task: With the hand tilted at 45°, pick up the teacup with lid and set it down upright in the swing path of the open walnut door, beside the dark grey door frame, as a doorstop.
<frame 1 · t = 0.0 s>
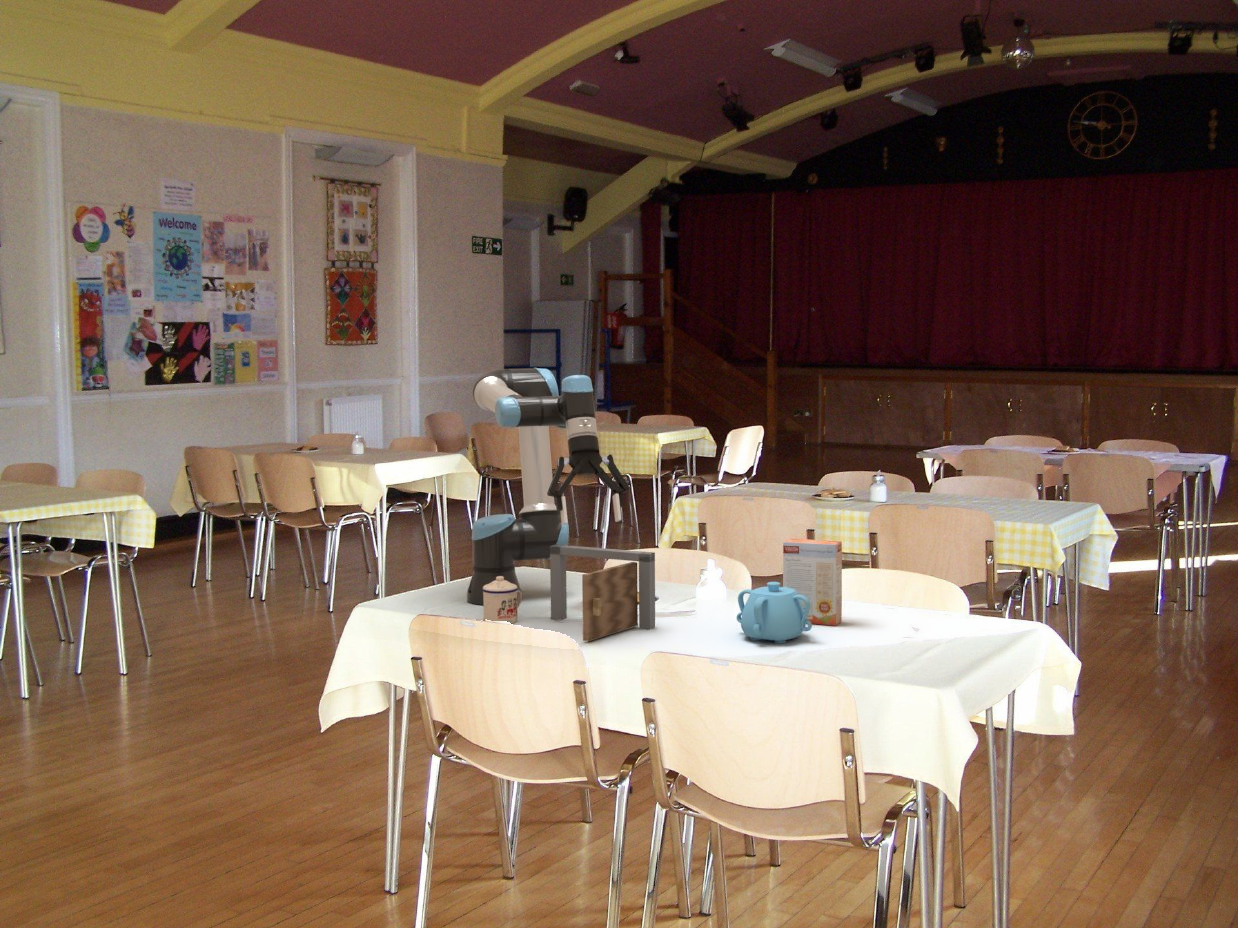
hand: (591, 522, 311), 28 cm above the table, tool tilted 20°, fingers open, 13 cm apart
door frame: (601, 622, 326), on the table
decorative pot: (773, 638, 309), on the table
door: (613, 601, 312), point 9 cm above the table, hinge at 80.0°
cracker box: (812, 622, 326), on the table
teacup with lid: (504, 620, 330), on the table
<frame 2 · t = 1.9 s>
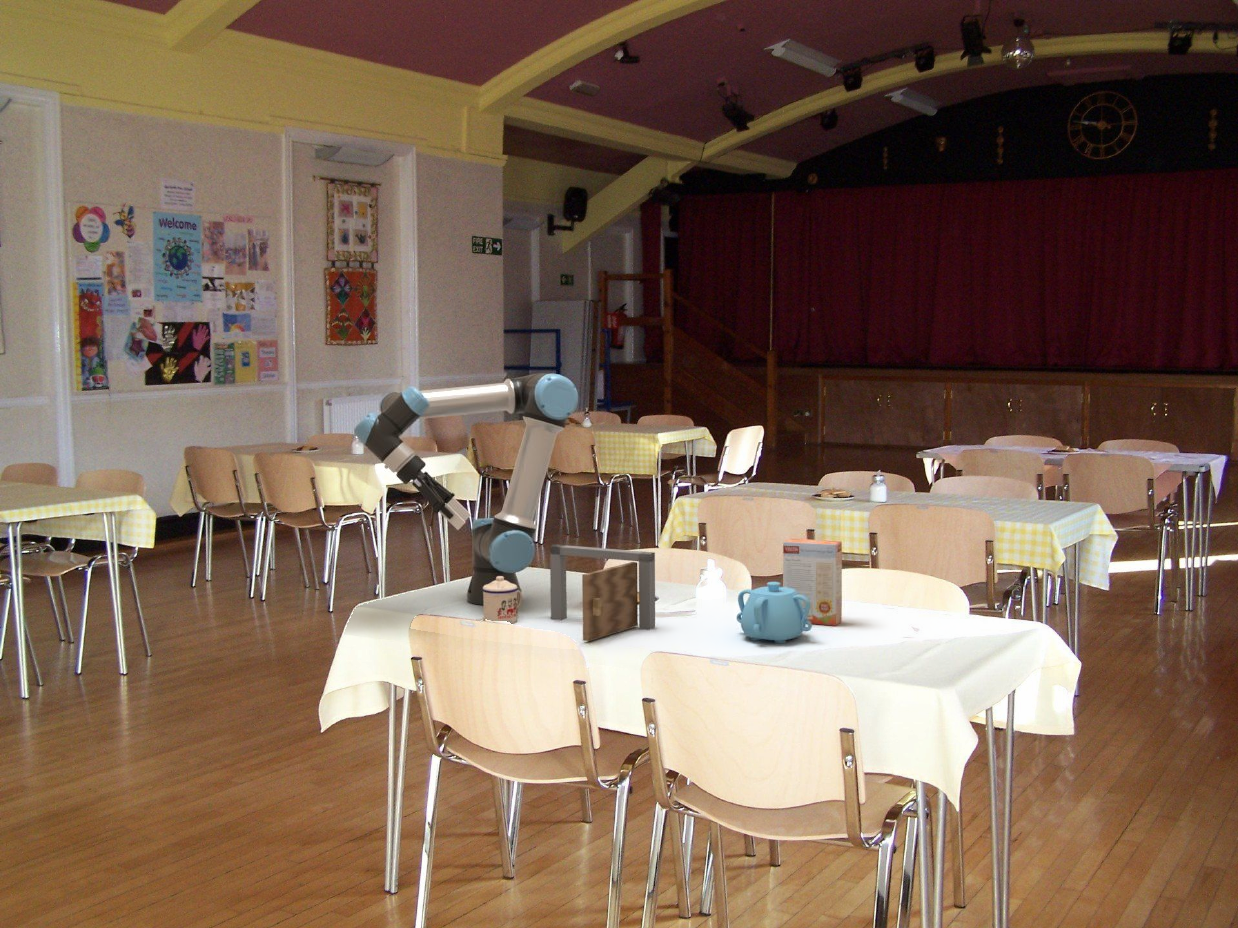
hand: (464, 522, 328), 25 cm above the table, tool tilted 45°, fingers open, 13 cm apart
nothing on the table moved.
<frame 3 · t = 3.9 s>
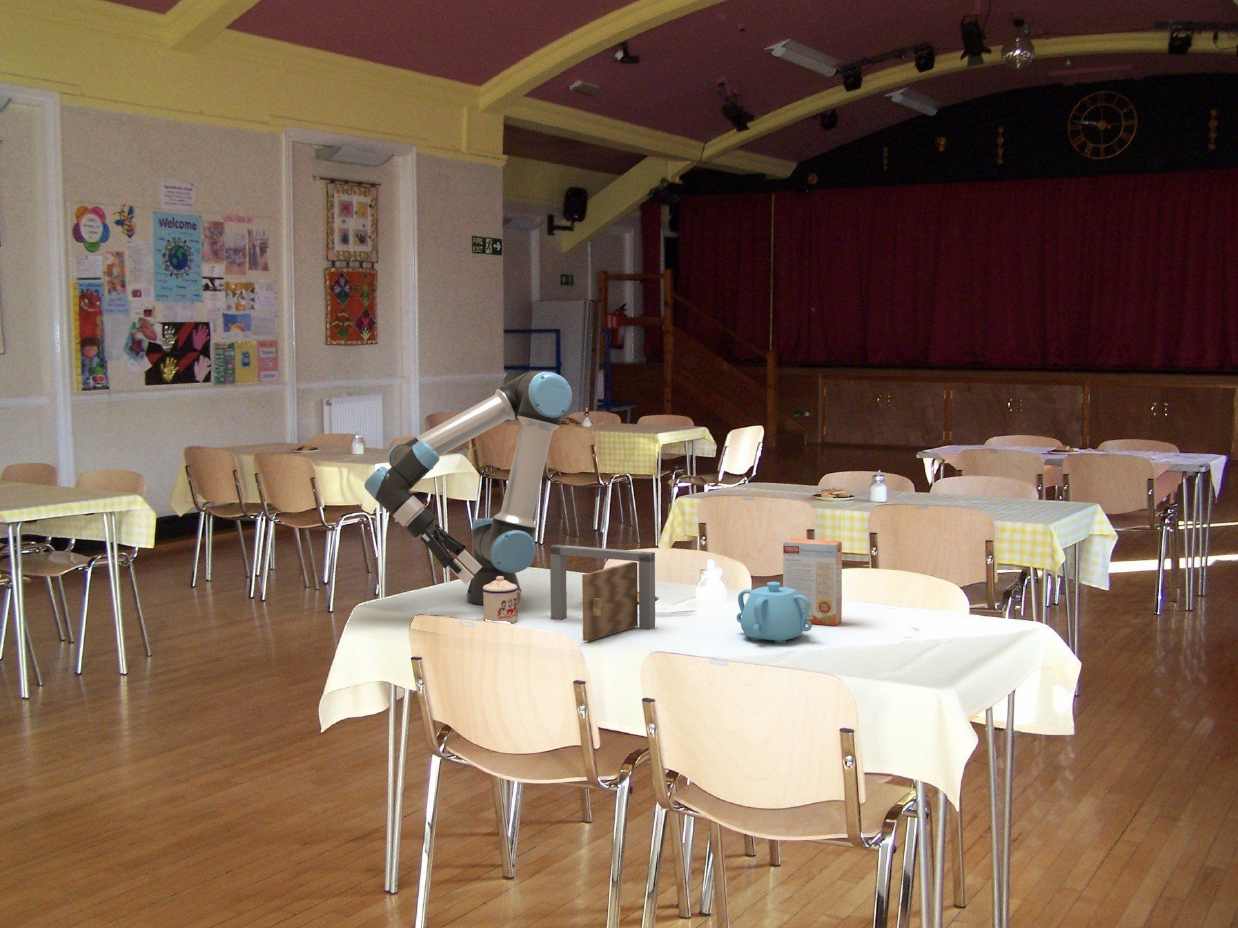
hand: (474, 575, 329), 12 cm above the table, tool tilted 45°, fingers open, 13 cm apart
nothing on the table moved.
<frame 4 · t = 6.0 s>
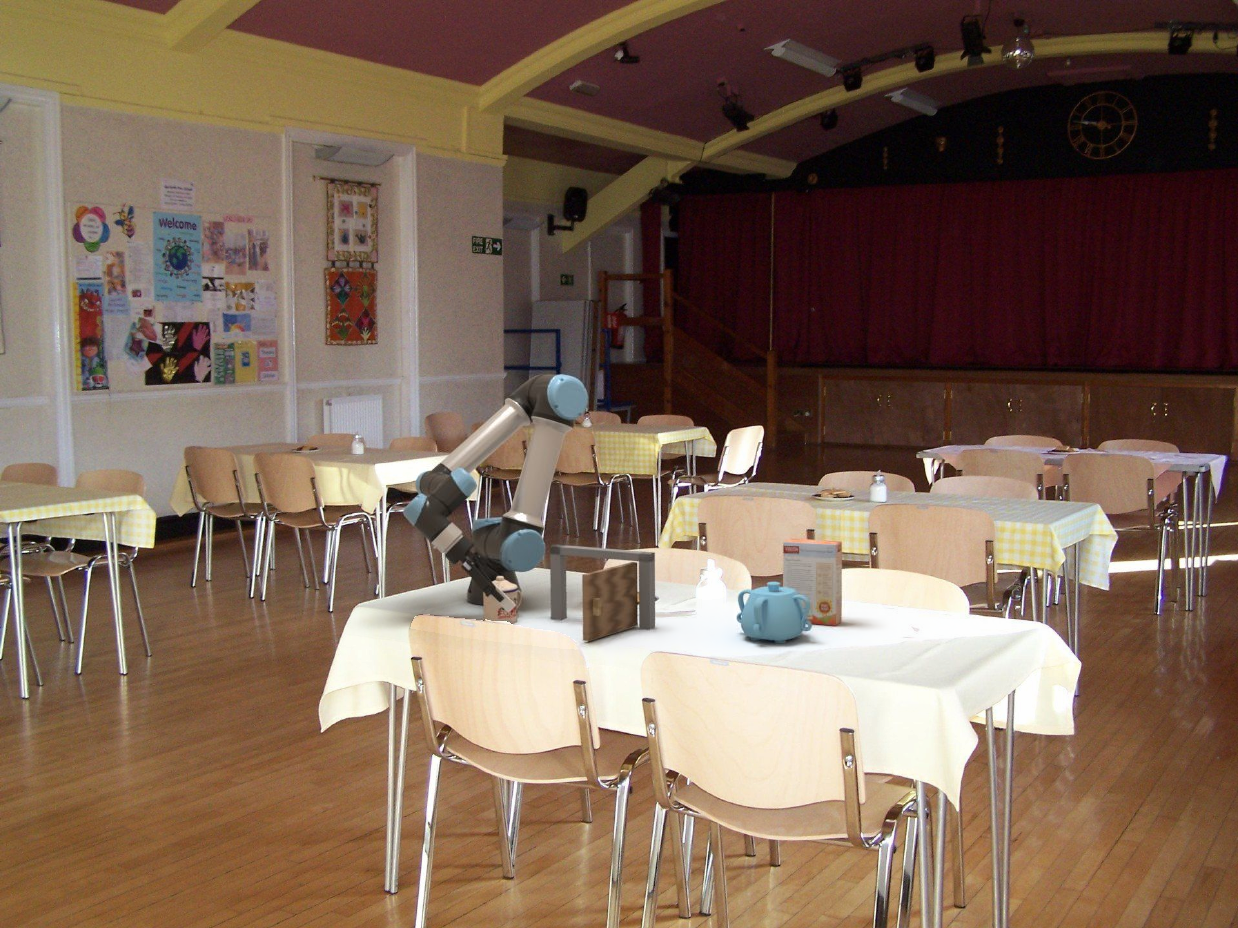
hand: (515, 604, 329), 4 cm above the table, tool tilted 45°, fingers closed on teacup with lid, 11 cm apart
teacup with lid: (504, 620, 330), on the table, touching gripper
everything else where it was.
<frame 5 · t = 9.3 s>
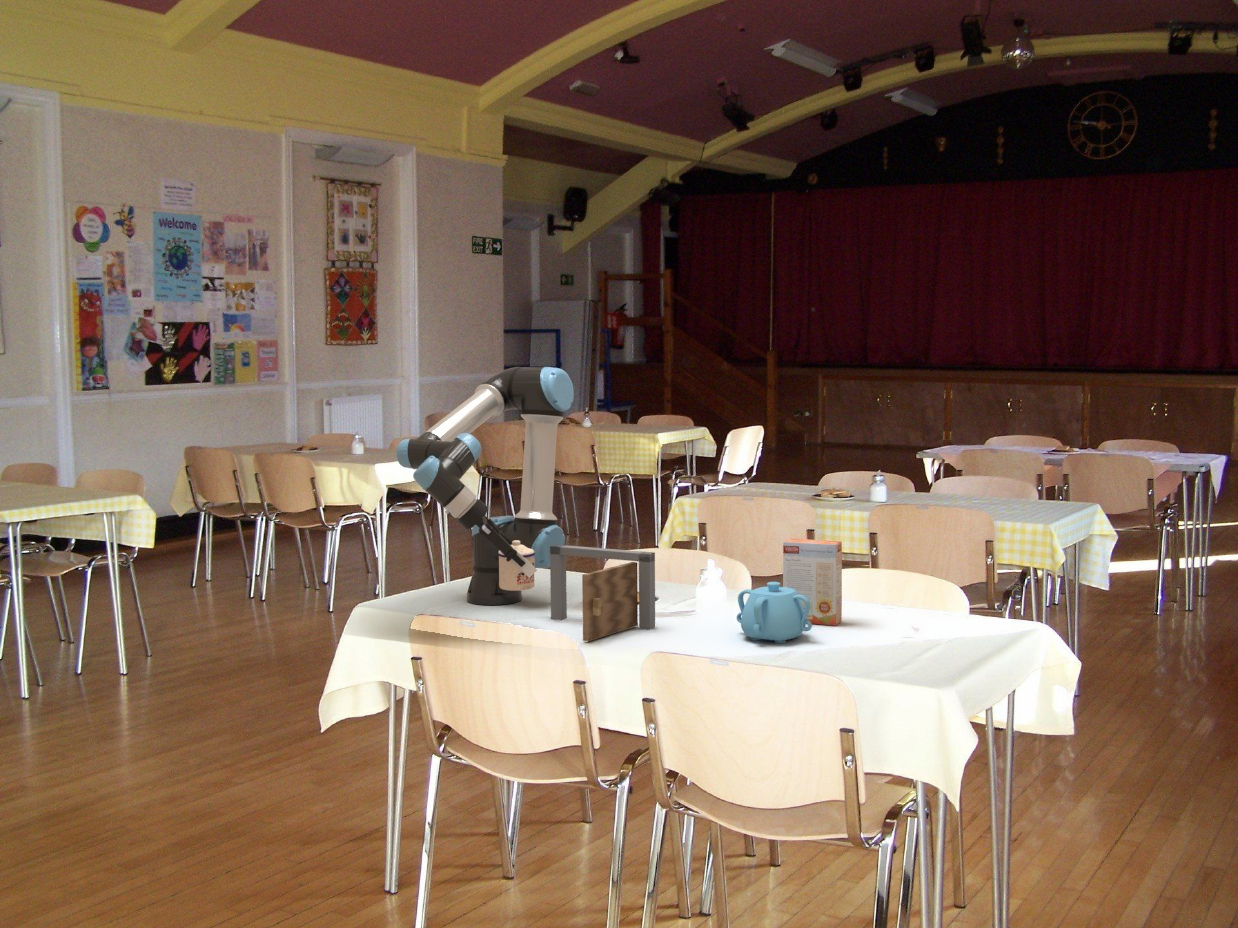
hand: (531, 569, 317), 15 cm above the table, tool tilted 45°, fingers closed on teacup with lid, 11 cm apart
teacup with lid: (520, 587, 317), point 11 cm above the table, touching gripper
everything else where it was.
when the fingers open (6 cm above the table, at t = 12.8 s): teacup with lid drops 1 cm, on the table.
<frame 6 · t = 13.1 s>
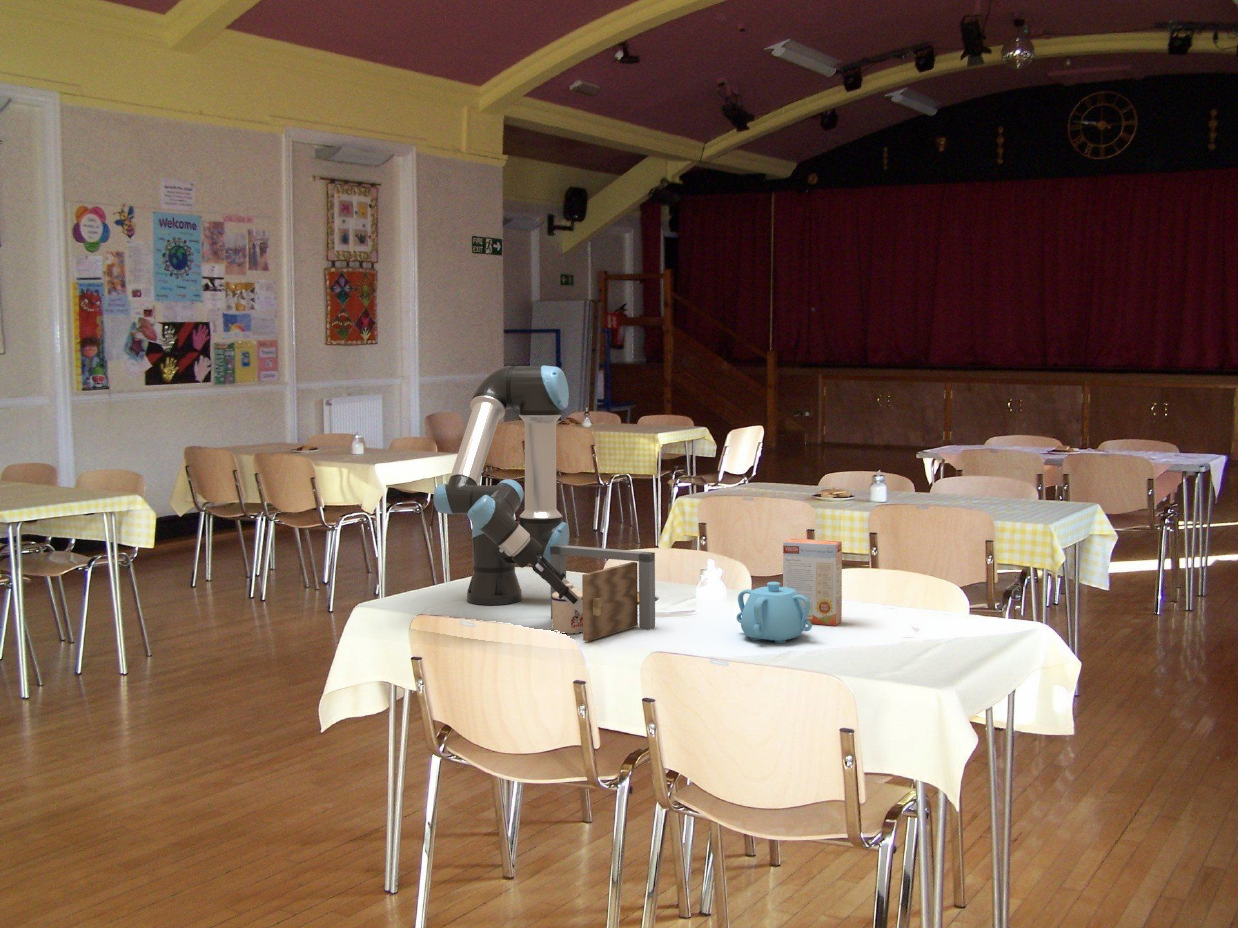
hand: (582, 604, 319), 6 cm above the table, tool tilted 45°, fingers open, 13 cm apart
teacup with lid: (573, 629, 320), on the table
everything else where it was.
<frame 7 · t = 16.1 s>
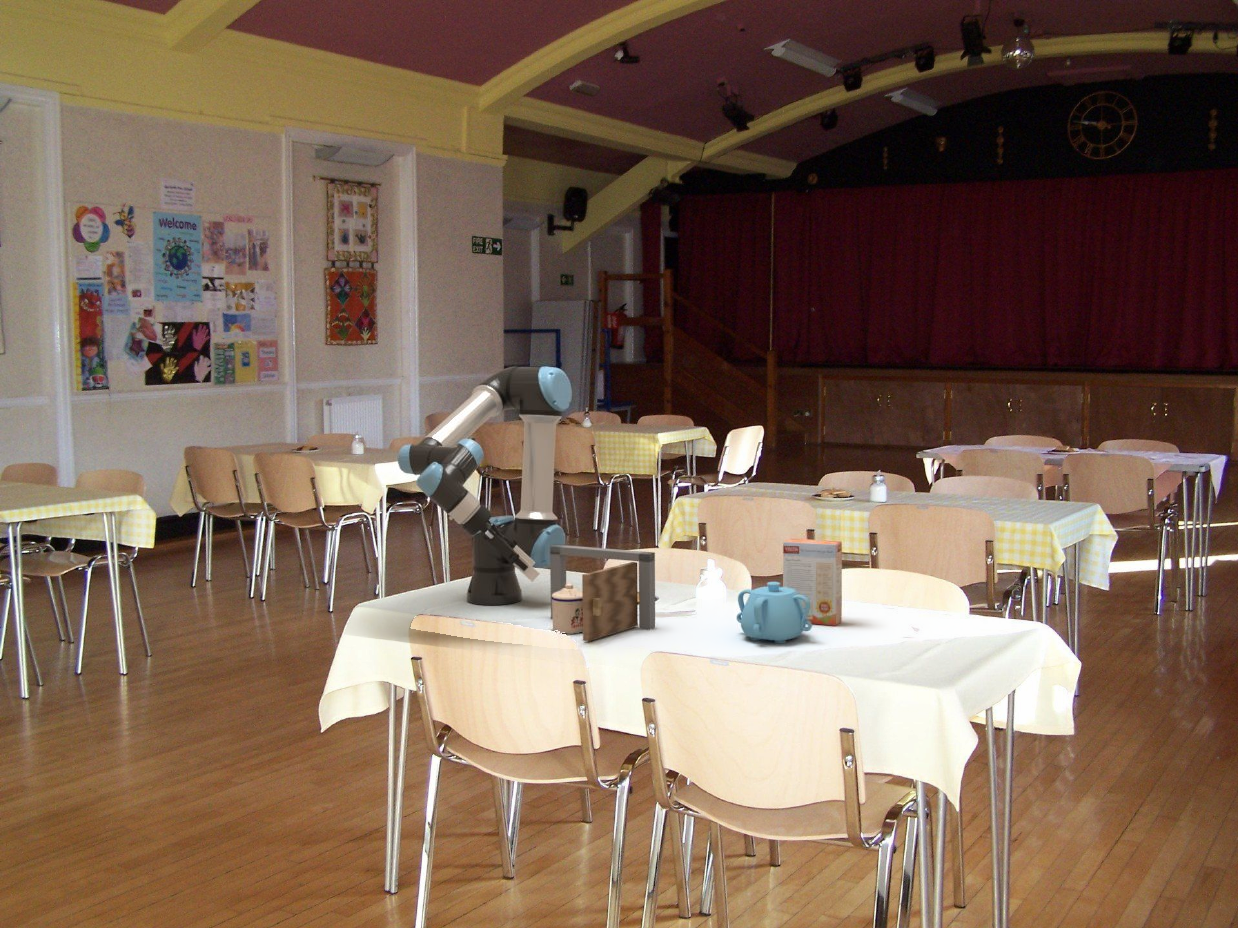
hand: (533, 572, 317), 15 cm above the table, tool tilted 45°, fingers open, 13 cm apart
nothing on the table moved.
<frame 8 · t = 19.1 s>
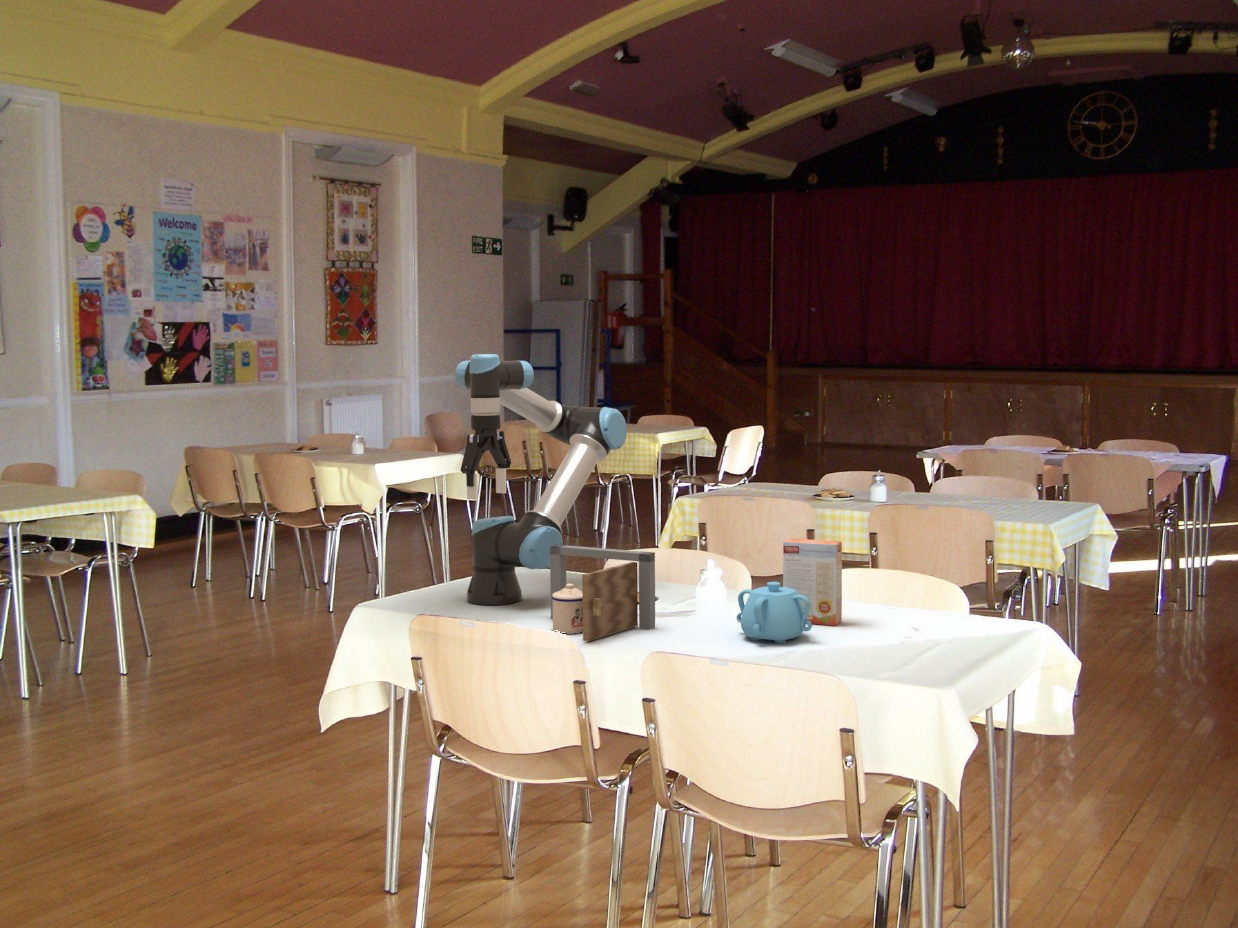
hand: (487, 496, 331), 32 cm above the table, tool pointing down, fingers open, 13 cm apart
nothing on the table moved.
at the end: teacup with lid inside the target area on the table beside the door (0.9 cm from its centre), on the table; teacup with lid tilted 0°; door at +80° (first picture: +80°) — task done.
